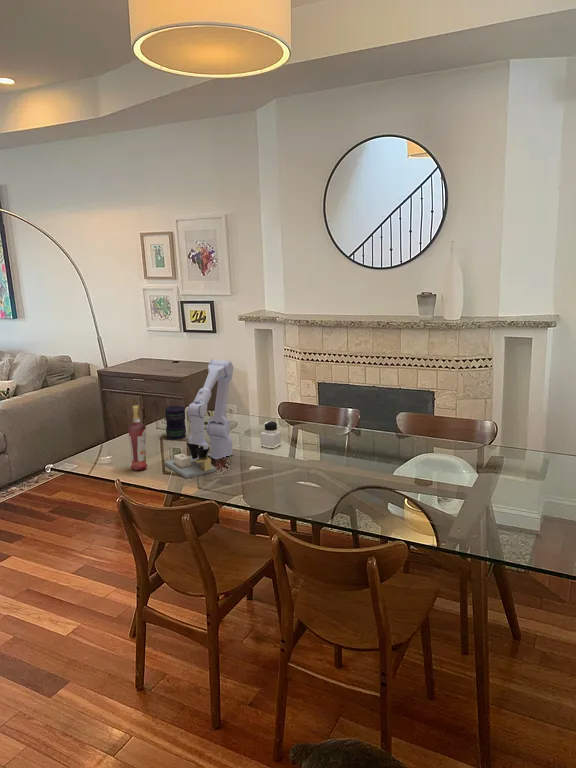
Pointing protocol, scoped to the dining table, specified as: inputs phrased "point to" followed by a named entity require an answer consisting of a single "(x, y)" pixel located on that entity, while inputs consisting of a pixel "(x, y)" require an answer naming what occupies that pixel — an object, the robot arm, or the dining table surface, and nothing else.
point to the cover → (182, 460)
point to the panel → (189, 468)
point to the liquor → (137, 441)
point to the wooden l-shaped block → (204, 463)
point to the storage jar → (175, 422)
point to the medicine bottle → (270, 434)
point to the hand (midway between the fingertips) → (198, 460)
